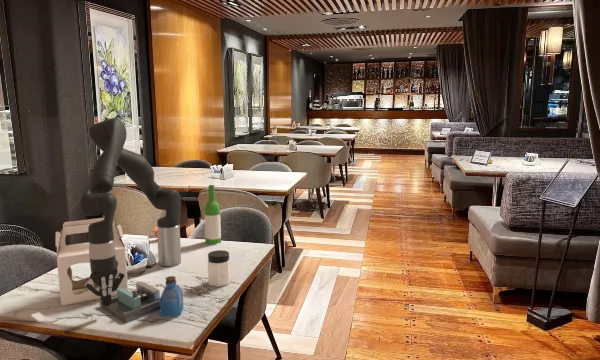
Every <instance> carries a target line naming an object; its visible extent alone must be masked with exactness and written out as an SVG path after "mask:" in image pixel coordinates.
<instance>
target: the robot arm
mask: <svg viewBox="0 0 600 360" xmlns="http://www.w3.org/2000/svg"><path fill="white" fill-rule="evenodd" d="M88 133H89V137H90V138H91V141H92V143H94V145H95V146H96V147H97V148H99V150H100V151H101V152H102V153H101V154H100V155H99V156H98V158H97V159H96V161H95V162H94V164H93V167H92V170H91V175H90V180H89V184H88V185H87V186H86V188H85V190H84V192H83V193H82V195H81V197H80V200H79V204H78V207H79V211H80V213H82V215H83V216H87V217H95V216H96V217H97V216H104V217H103V218H104V220H102V221H99V222H95V223H92V224H90V225H89V227H88V232H87V233H88V242H89V256H90V263H89V267H90V275H89V277H90V279H89V281H88V282H85V283H84V284H83V285H84V286H85V287H86V288H87V289H89V290H90V291H91V292H92V293H94V294H95V295H97V296H100V297H101V298H100V302H101V304H102V305H103V306H105V307H106V306H109V305H110V303H111V298H112V296H111V293H112V292H113V291H116V290H117V288H118V286H119V285H120V283H121V281H122V279H123V278H124V276H125V275H124V274H123V273H120V272H118V270H117V269H116V256H115V245H114V241H113V239H114V231H113V219H114V217H115V214H116V210H117V205H118V202H117V201H118V200H117V198H116V196H115V195H114V194H113V193H112V192H111V191H112V190H113V188H114V182H115V176H116V175H115V174H116V168H117V166H118V167H120V169H121V170H122V171H123V172H124V174H126V175H127V177H129V179H130V180H131V181H132V182H134V185H136V186H137V187H138V188H139V189H140V190H141V191H142V192H143V194H144V195H145V196H146V198H147V199H148V201H149V202H150V203H151V205H152V206H153V207H154V208H155V209H157V210H162V211H165V216H163V217H160V218H158V219H157V225H156V226H158V237H157V256H158V264H159V265H160V266H162V267H172V266H174V267H175V266H177V265H178V266H179V265H180V264H181V263H182V251H181V250H182V249H181V247H182V246H181V230H180V227H181V226H180V220H181V215H182V214H181V213H182V211H181V208H182V206H181V205H182V204H181V203H182V201H181V198H182V197H181V195H180V192H179V191H178V189H173V188H164V187H161V186H159V184H157V183H156V181H155V171H154V168H153V167H152V165H151V164H150V162H148V160H147V159H146V158H145V157H144V156H142V155H141V154H138V153H136V152H134V151H131V150H129V149H126V148H124V146H125V143H126V140H127V137H128V136H127V128H126V126H125V123H124V122H123V121H122V120H121V119H120V118H118V117H117V118H116V117H114V118H108V119H106V120H103V121H98V122H96V123H94V124H92V125H91V126H90V127H89V129H88ZM114 278H115V279H114ZM113 280H114V281H113ZM93 282H94V283H95V284H97V285H98V288H99V291H98V290H96V289H95V288H94V287H93V286H94V284H93ZM112 282H113V283H112Z"/></svg>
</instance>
